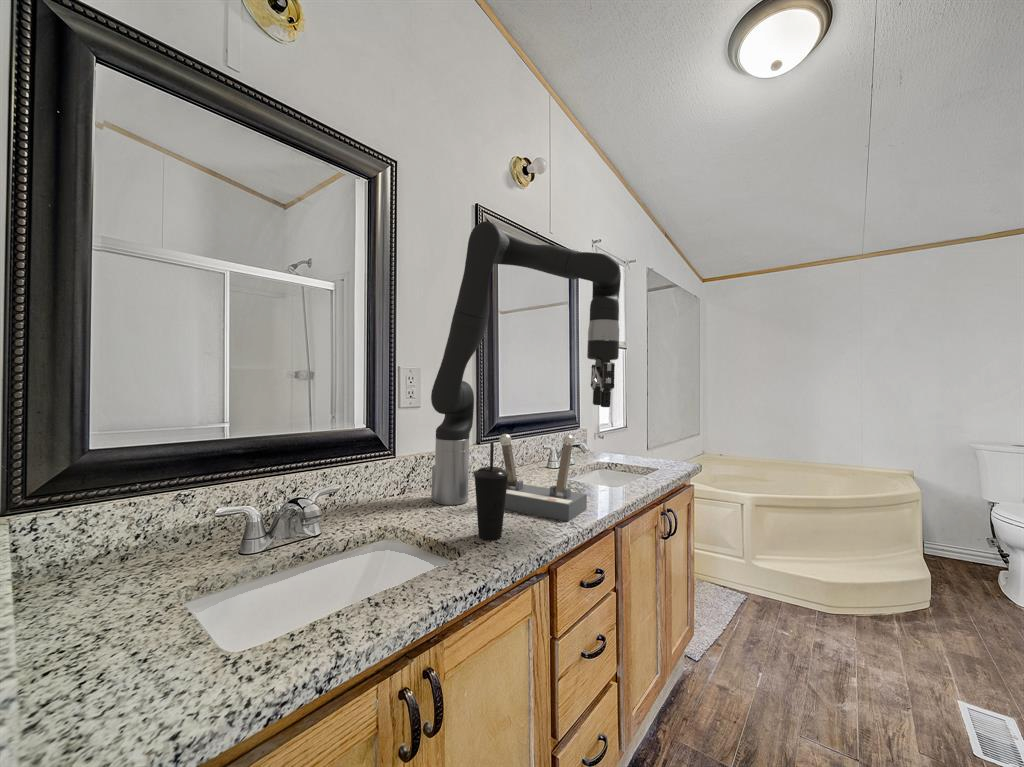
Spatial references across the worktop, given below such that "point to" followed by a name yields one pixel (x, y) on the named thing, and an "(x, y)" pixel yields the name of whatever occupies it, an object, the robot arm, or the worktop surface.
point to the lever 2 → (564, 463)
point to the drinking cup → (490, 499)
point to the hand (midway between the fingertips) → (601, 406)
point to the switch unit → (545, 501)
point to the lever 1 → (508, 458)
